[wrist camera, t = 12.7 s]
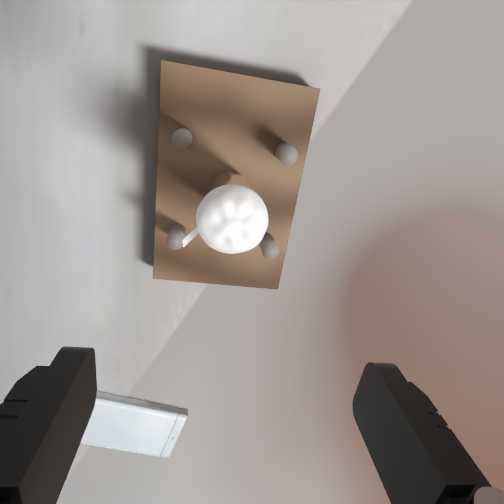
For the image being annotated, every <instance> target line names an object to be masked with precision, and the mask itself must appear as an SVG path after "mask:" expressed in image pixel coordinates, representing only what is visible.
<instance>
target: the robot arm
mask: <svg viewBox="0 0 504 504" xmlns="http://www.w3.org/2000/svg"><path fill="white" fill-rule="evenodd" d="M96 394H97V382H96V364H95V351H94V349H93V348H83V347H62V348H61V349H60V350H59V352H58V353H57V355H56V357H55V358H54V360H53V361H52V363H51V365H50V366H36V367H35V368H33V369H32V370H31V371H30V372H28V373H27V374H26V375H24V376H23V377H22V378H20V379H19V380H18V381H17V382H16V383H15V385H14V386H13V388H12V389H11V390H10V392H9V393H8V395H7V396H6V397H5V399H4V402H3V403H1V404H0V504H56V502H57V500H58V497H59V495H60V492H61V490H62V487H63V485H64V482H65V480H66V477H67V475H68V472H69V470H70V467H71V465H72V462H73V460H74V457H75V455H76V452H77V450H78V447H79V445H80V442H81V440H82V437H83V435H84V432H85V430H86V427H87V425H88V422H89V420H90V417H91V415H92V412H93V409H94V405H95V401H96ZM353 414H354V418H355V420H356V423H357V425H358V428H359V430H360V432H361V435H362V437H363V439H364V442H365V444H366V446H367V448H368V451H369V453H370V455H371V458H372V459H373V462H374V465H375V467H376V469H377V472H378V474H379V476H380V479H381V481H382V483H383V486H384V488H385V490H386V492H387V495H388V497H389V499H390V502H391V504H504V491H502V490H500V489H498V488H494V487H492V486H491V485H490V484H489V482H488V481H487V479H486V478H485V477H484V475H483V474H482V472H481V471H480V470H479V468H478V467H477V465H476V464H475V463H474V461H473V460H472V458H471V457H470V456H469V454H468V453H467V451H466V450H465V449H464V447H463V446H462V444H461V443H460V441H459V440H458V439H457V437H456V436H455V434H454V433H453V432H452V430H451V429H449V428H448V425H447V423H446V422H445V420H444V419H443V417H442V416H441V415H439V412H438V411H437V409H436V408H435V406H434V405H433V403H432V402H431V401H430V399H429V398H428V396H427V395H426V394H424V393H423V392H422V391H421V390H420V389H419V388H418V387H416V386H415V385H414V384H413V383H412V382H407V380H406V379H405V378H404V376H403V375H402V373H401V372H400V370H399V369H398V367H397V366H396V365H394V364H392V363H391V364H390V363H371V362H370V363H368V364H366V366H365V368H364V371H363V374H362V376H361V379H360V382H359V385H358V387H357V390H356V393H355V395H354V399H353Z"/></svg>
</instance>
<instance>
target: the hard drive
mask: <svg viewBox="0 0 504 504" xmlns="http://www.w3.org/2000/svg"><path fill="white" fill-rule="evenodd" d="M187 416H188V408H184V407H179V406H175V405H170V404H165V403H161V402H156V401H151V400H146V399H141V398H137V397H132V396H127V397H124V396H119V395H114V394H109V393H104V392H100V391H97V394H96V401H95V405H94V409H93V412H92V415H91V417H90V420H89V422H88V425H87V427H86V430H85V432H84V435H83V437H82V440H81V442H80V443H82V444H88V445H94V446H100V447H106V448H111V449H117V450H124V451H129V452H135V453H141V454H147V455H153V456H160V457H166V458H168V457H169V455H170V453H171V451H172V449H173V447H174V445H175V442H176V440H177V438H178V436H179V434H180V432H181V429H182V427H183V425H184V423H185V421H186V418H187Z"/></svg>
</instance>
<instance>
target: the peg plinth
mask: <svg viewBox="0 0 504 504" xmlns="http://www.w3.org/2000/svg"><path fill="white" fill-rule="evenodd" d="M319 93H320V89H319V88H313V87H308V86H302V85H297V84H291V83H286V82H280V81H275V80H269V79H264V78H258V77H253V76H247V75H242V74H236V73H231V72H225V71H220V70H214V69H209V68H203V67H198V66H192V65H187V64H181V63H176V62H170V61H165V60H161V77H160V103H159V130H158V156H157V182H156V209H155V235H154V261H153V279H163V280H175V281H186V282H198V283H210V284H222V285H234V286H245V287H256V288H269V289H278V286H279V281H280V276H281V271H282V267H283V262H284V257H285V253H286V248H287V243H288V239H289V234H290V229H291V224H292V220H293V215H294V210H295V206H296V201H297V196H298V191H299V187H300V182H301V177H302V173H303V168H304V162H305V159H306V154H307V149H308V144H309V140H310V135H311V130H312V126H313V121H314V116H315V112H316V107H317V102H318V97H319ZM230 170H231V171H233V172H235V173H238V174H240V175H242V176H243V177H244V179H245V180H246V182H247V183H248V184H249V185H250V187H251V188H252V189H253V190H254V191H255V192H256V193H257V194H258V195H259V196H260V197H261V199H262V200H263V202H264V204H265V206H266V208H267V212H268V227H267V230H266V232H265V234H264V236H263V238H262V240H261V242H260V243H259V244H258V245H257V246H255V247H254V248H252V249H251V250H248V251H246V252H241V253H235V254H227V253H222V252H219V251H217V250H215V249H213V248H211V247H210V246H208V245H207V244H206V243H205V242H204V240H203V239H202V238H201V236H200V234H198V235H196V236H195V237H194V238H193V239H192V240H191V241H190V242H189V243H188V244H187V245H186V246H185V247H184V248H183V246H182V243H181V241H182V240H183V239H184V238H185V237H186V236H187V235H188V234H189V233H190V232H191V231H192V230H193V229H194V228H195V227H196V226H197V224H196V213H197V209H198V206H199V204H200V203H201V201H202V199H203V198H204V196H205V194H206V192H207V189H208V187H209V185H210V183H211V181H212V180H213V179H214V178H215V177H216V175H217V174H218V173H221V172H226V171H230Z"/></svg>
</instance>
